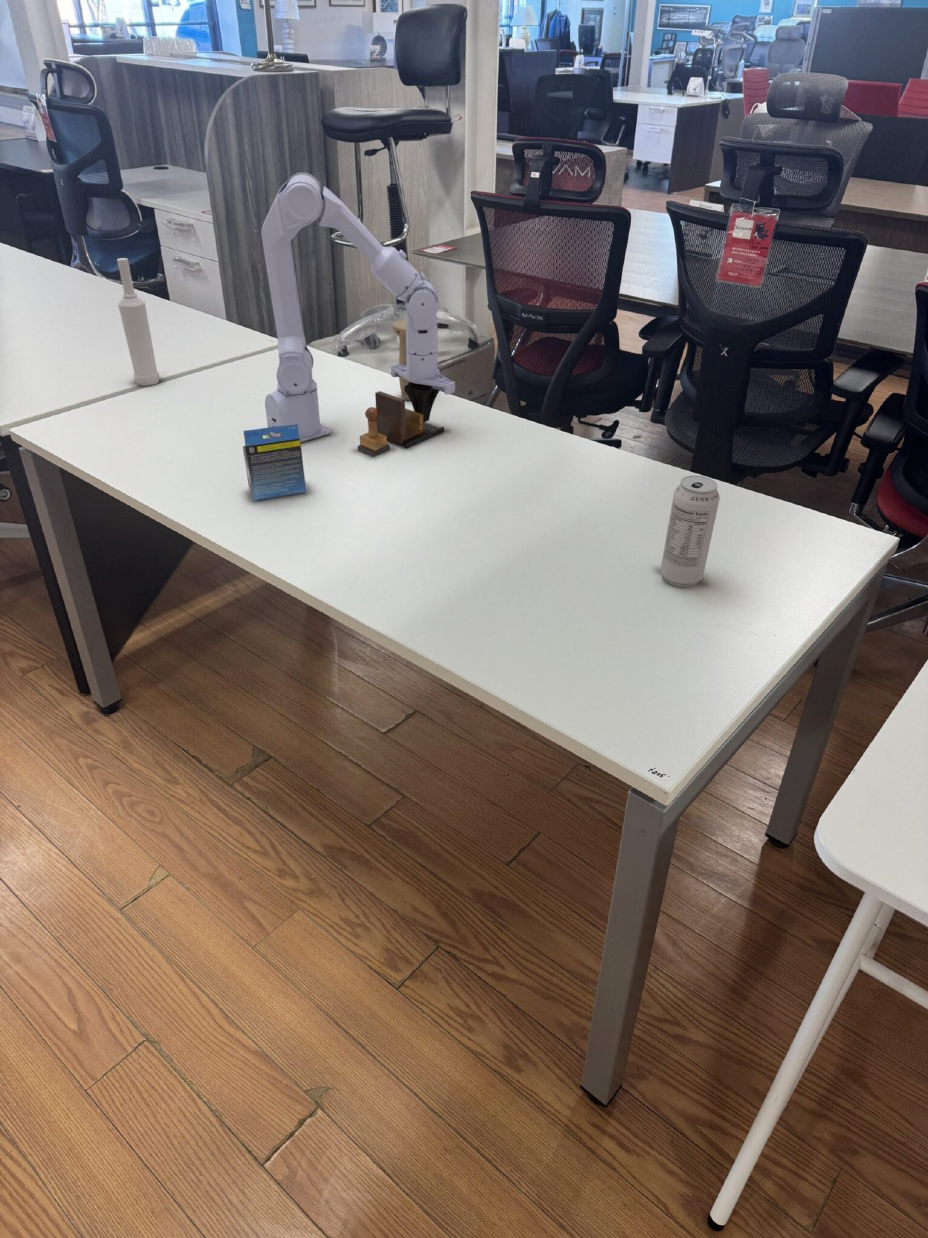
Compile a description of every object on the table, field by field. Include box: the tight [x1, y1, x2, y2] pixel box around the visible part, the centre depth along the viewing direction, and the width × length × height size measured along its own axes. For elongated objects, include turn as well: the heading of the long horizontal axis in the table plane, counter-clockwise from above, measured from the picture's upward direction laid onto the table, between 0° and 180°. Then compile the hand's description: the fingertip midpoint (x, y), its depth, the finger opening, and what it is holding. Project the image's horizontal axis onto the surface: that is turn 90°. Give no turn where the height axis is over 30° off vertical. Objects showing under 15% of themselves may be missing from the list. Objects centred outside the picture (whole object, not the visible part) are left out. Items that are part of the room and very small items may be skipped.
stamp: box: [357, 406, 391, 458], centre depth 154 cm, size 8×4×7 cm
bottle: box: [116, 257, 160, 387], centre depth 175 cm, size 5×5×25 cm
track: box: [387, 422, 445, 449], centre depth 161 cm, size 10×8×1 cm
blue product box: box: [242, 424, 307, 502], centre depth 138 cm, size 9×4×12 cm, turn 111°
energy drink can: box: [660, 474, 721, 588], centre depth 117 cm, size 6×6×15 cm
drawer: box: [374, 390, 425, 444], centre depth 157 cm, size 7×6×8 cm
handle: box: [391, 320, 410, 401], centre depth 173 cm, size 5×6×15 cm
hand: (423, 420), depth 163 cm, fingers closed
